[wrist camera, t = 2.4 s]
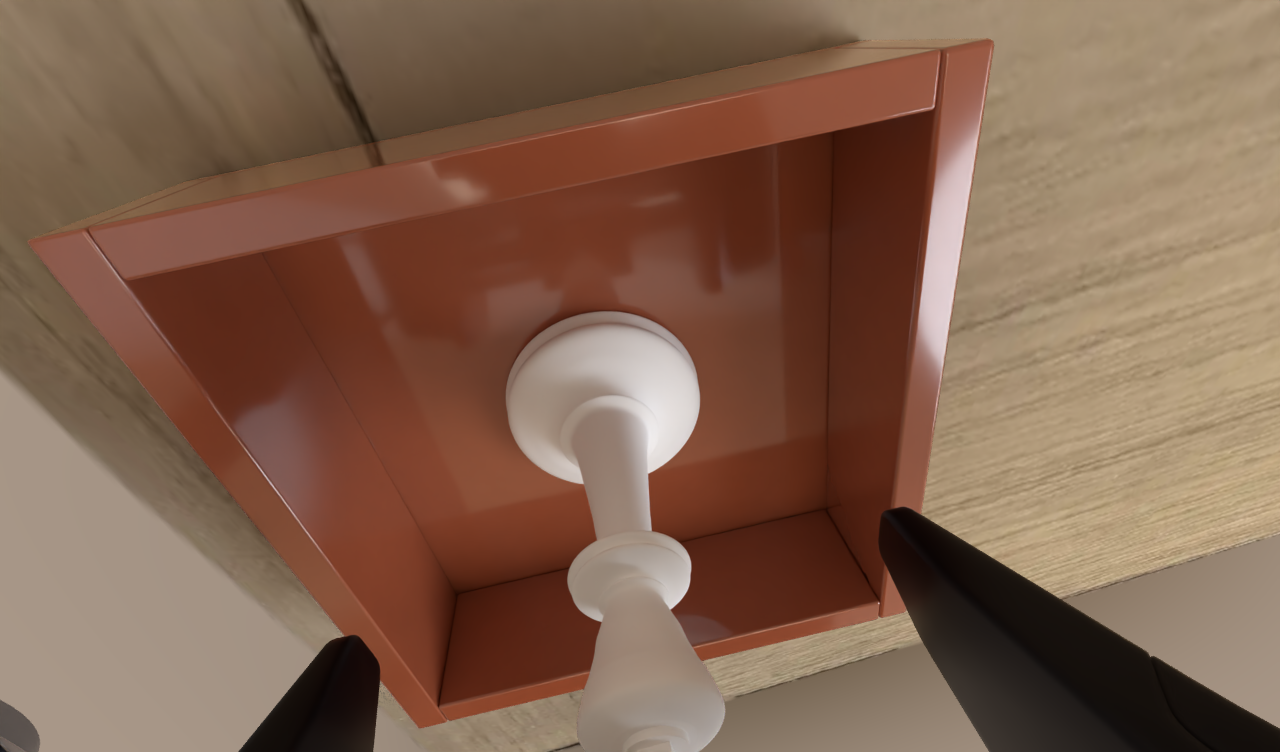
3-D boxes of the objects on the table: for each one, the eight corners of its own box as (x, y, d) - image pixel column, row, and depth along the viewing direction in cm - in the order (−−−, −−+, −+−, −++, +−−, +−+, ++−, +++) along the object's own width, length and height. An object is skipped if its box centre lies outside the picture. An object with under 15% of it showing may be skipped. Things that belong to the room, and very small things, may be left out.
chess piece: (545, 490, 15) (538, 1038, 7) (473, 345, 13) (318, 942, 4) (712, 441, 15) (913, 934, 7) (674, 284, 13) (925, 769, 4)
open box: (442, 605, 18) (418, 730, 14) (185, 181, 10) (23, 240, 7) (844, 512, 18) (907, 613, 15) (865, 40, 11) (998, 37, 8)
